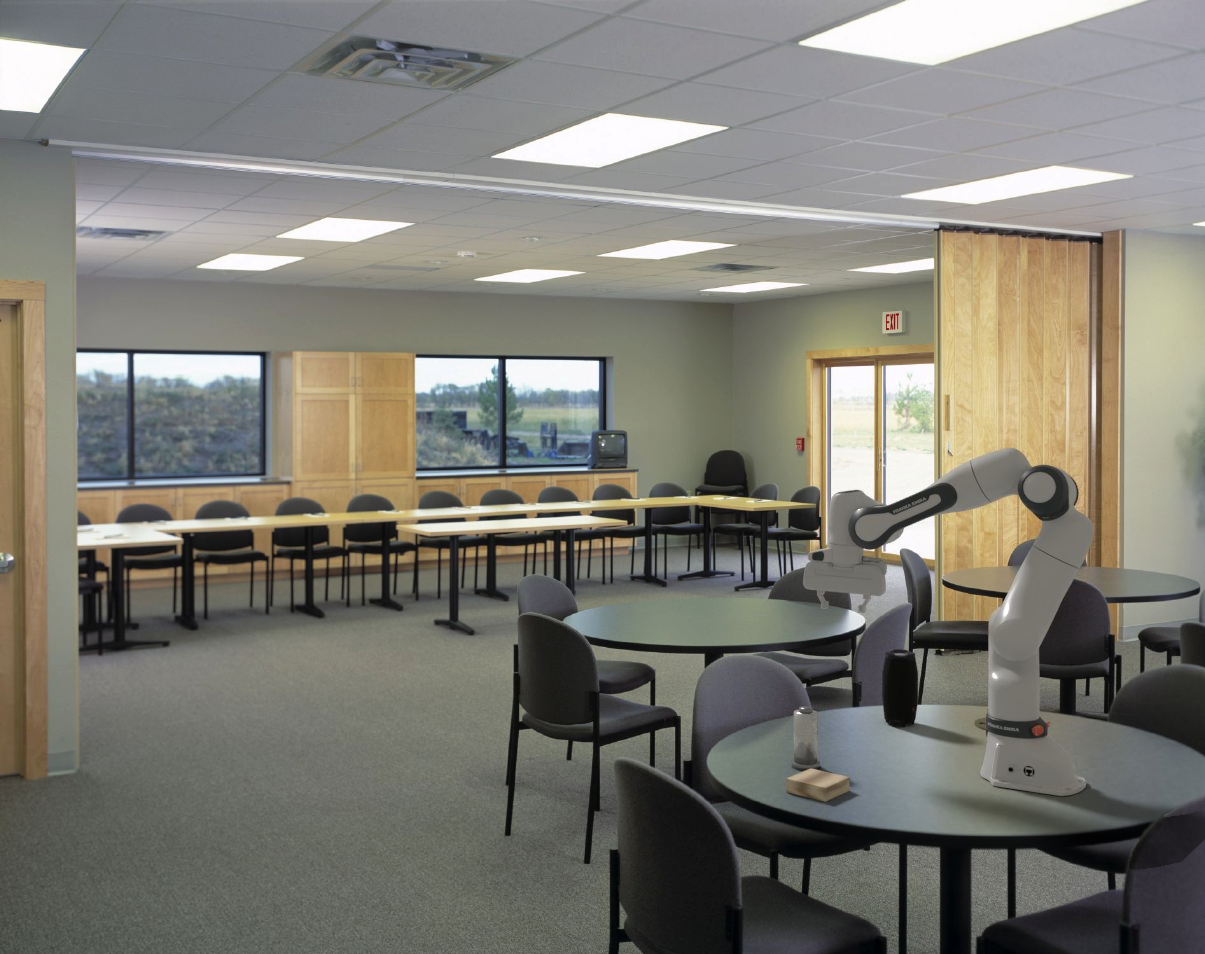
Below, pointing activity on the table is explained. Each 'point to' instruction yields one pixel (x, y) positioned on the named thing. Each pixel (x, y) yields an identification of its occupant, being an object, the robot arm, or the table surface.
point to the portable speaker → (900, 687)
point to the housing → (805, 739)
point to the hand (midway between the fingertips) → (843, 610)
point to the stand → (818, 784)
